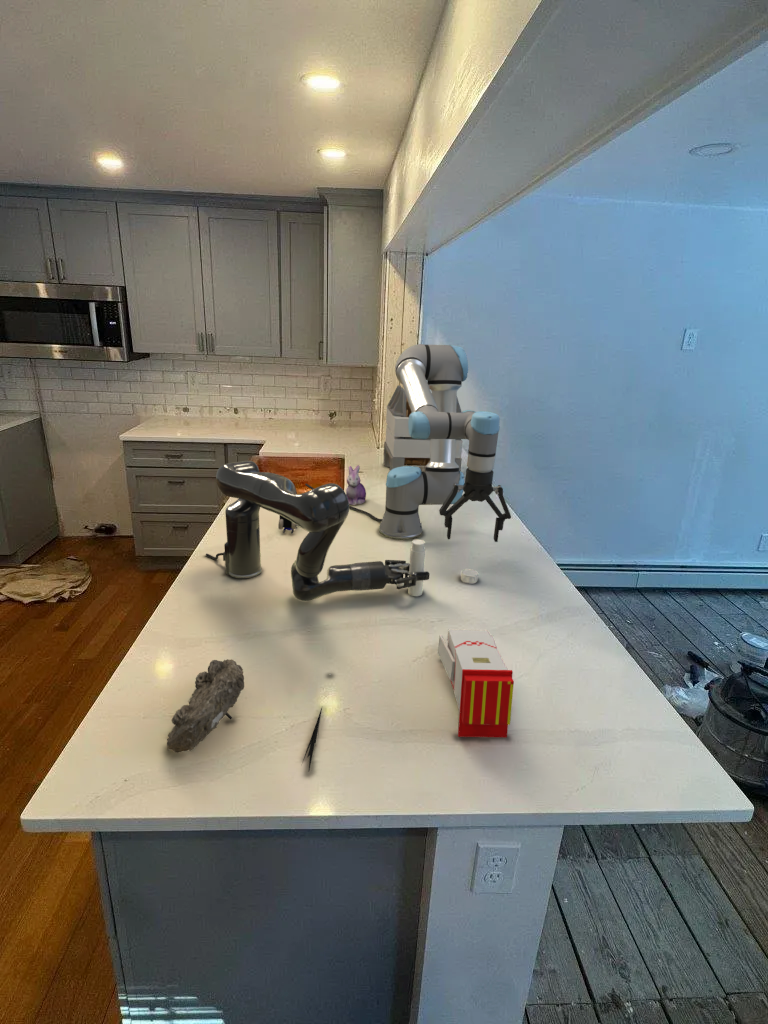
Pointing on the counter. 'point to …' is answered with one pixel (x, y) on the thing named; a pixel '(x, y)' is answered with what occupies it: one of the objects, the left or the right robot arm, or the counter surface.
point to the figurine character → (286, 524)
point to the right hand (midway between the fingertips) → (472, 538)
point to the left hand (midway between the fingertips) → (425, 571)
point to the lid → (469, 576)
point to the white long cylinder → (417, 565)
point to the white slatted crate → (407, 436)
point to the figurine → (355, 487)
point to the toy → (478, 682)
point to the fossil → (206, 705)
